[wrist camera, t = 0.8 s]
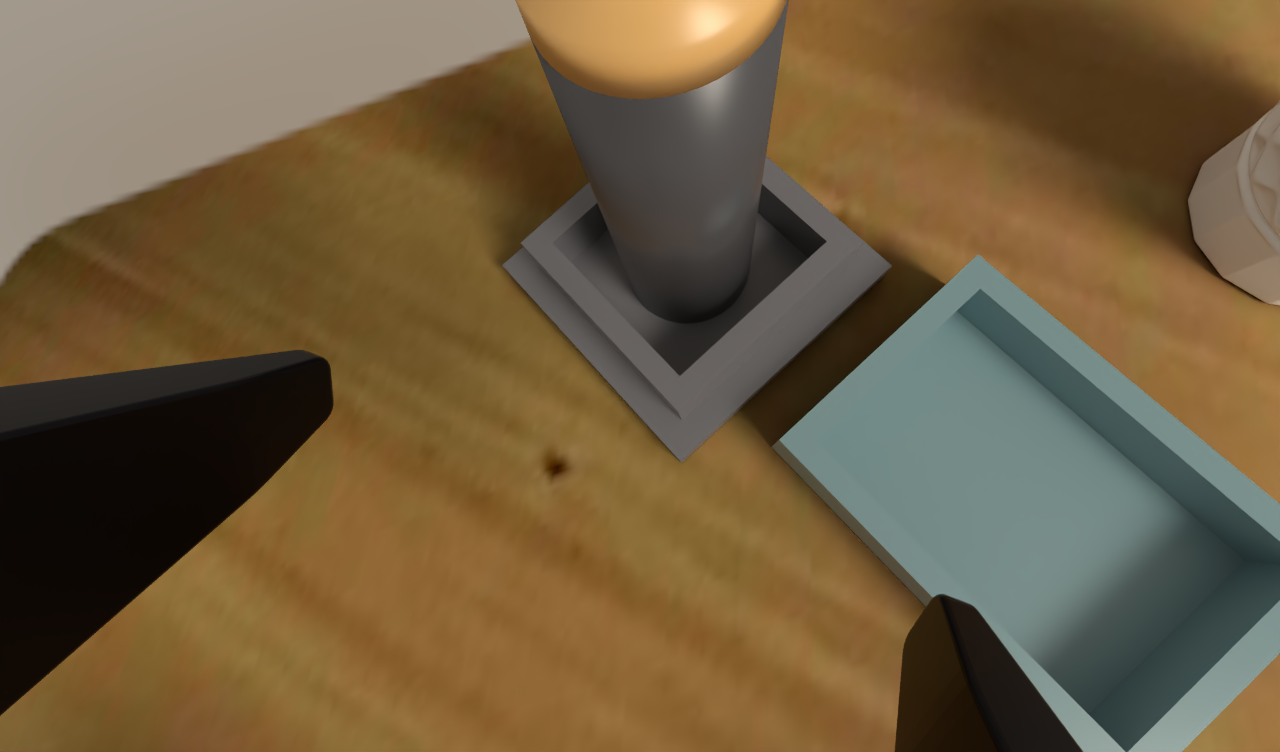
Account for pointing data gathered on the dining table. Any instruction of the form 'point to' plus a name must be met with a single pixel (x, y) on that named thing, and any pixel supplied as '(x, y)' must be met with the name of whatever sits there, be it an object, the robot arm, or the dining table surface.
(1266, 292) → the white cup
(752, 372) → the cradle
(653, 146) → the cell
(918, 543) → the trough
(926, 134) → the dining table surface
